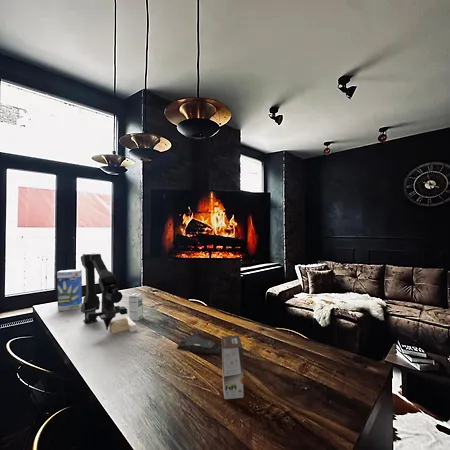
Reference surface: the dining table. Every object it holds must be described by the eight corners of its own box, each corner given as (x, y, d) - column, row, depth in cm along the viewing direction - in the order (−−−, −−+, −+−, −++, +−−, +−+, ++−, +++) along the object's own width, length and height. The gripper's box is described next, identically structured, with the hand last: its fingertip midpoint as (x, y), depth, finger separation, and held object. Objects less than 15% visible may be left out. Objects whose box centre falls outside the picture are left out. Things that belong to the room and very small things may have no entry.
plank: (122, 323, 145) (122, 318, 145) (128, 322, 147) (128, 317, 147) (130, 331, 134) (130, 326, 134) (136, 330, 136) (136, 324, 136)
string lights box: (57, 311, 170) (56, 272, 170) (61, 307, 178) (60, 270, 178) (79, 309, 174) (78, 270, 173) (82, 305, 181) (81, 268, 181)
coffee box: (244, 398, 81) (243, 347, 81) (224, 399, 81) (222, 348, 81) (240, 380, 90) (239, 334, 90) (222, 381, 90) (220, 335, 90)
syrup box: (138, 320, 149) (137, 295, 149) (129, 320, 151) (128, 295, 151) (143, 317, 155) (142, 293, 155) (134, 316, 156) (133, 292, 156)
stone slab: (232, 352, 115) (232, 342, 114) (205, 370, 102) (205, 358, 102) (197, 334, 130) (198, 325, 129) (171, 348, 117) (171, 337, 117)
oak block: (109, 330, 137) (109, 320, 137) (125, 326, 142) (124, 317, 142) (112, 333, 132) (112, 323, 132) (128, 329, 137) (128, 320, 137)
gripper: (90, 306, 122) (89, 339, 122) (130, 300, 133) (130, 330, 133) (86, 300, 131) (85, 331, 131) (124, 295, 142) (124, 324, 142)
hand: (107, 329), depth 134 cm, fingers closed
